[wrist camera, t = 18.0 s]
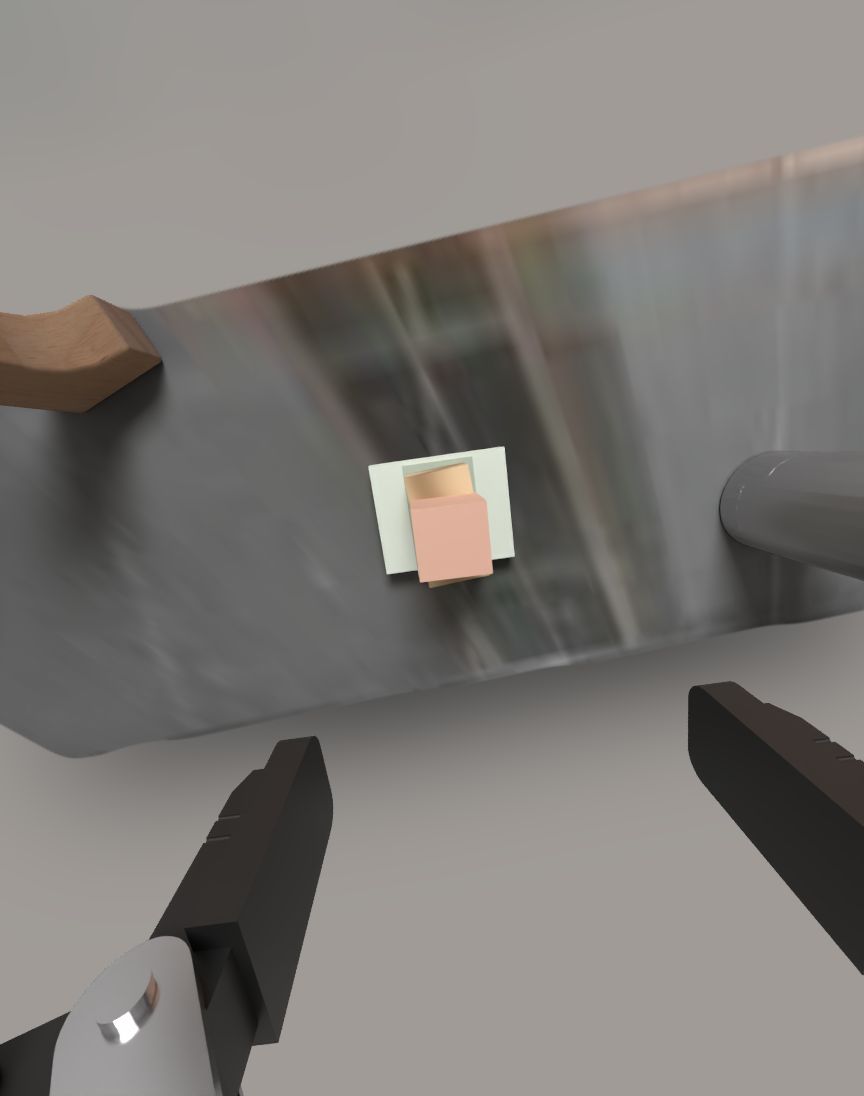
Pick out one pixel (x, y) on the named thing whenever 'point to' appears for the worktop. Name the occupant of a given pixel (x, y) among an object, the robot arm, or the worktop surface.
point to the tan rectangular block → (440, 493)
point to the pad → (396, 508)
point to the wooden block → (71, 356)
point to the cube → (451, 537)
